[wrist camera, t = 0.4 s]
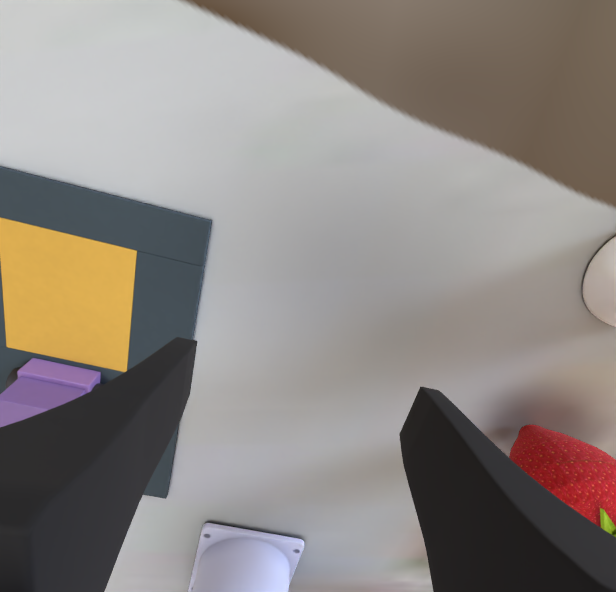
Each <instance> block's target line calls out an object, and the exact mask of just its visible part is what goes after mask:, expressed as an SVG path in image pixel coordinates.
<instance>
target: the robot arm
mask: <svg viewBox="0 0 616 592" xmlns="http://www.w3.org/2000/svg"><path fill="white" fill-rule="evenodd" d="M196 346H197V341H195V340H190V339H185V338H180V337H176V338H175V339H173V340H172V341H170V342H169V343H167V344H166V345H165V346H163V347H162V348H160V349H159V350H158V351H156V352H155V353H153V354H152V355H150V356H149V357H147V358H146V359H144V360H143V361H141V362H140V363H138V364H137V365H135V366H134V367H132V368H131V369H129V370H128V371H126V372H124V373H123V374H121V375H119V376H117V377H116V378H114V379H112V380H111V381H109V382H107V383H105V384H104V385H102V386H100V387H98V388H96V389H94V390H93V391H91V392H89V393H86V394H84V395H82V396H80V397H78V398H76V399H74V400H72V401H69V402H67V403H65V404H62V405H60V406H57V407H55V408H52V409H50V410H47V411H45V412H42V413H40V414H37V415H34V416H32V417H29V418H27V419H24V420H21V421H18V422H15V423H12V424H9V425H6V426H3V427H0V592H104V591H105V588H106V586H107V583H108V580H109V578H110V575H111V573H112V570H113V567H114V565H115V562H116V560H117V557H118V554H119V552H120V549H121V547H122V544H123V542H124V539H125V536H126V534H127V531H128V529H129V526H130V524H131V521H132V519H133V516H134V514H135V511H136V509H137V506H138V504H139V502H140V500H141V497H142V495H143V493H144V491H145V489H146V487H147V485H148V483H149V481H150V479H151V477H152V475H153V473H154V471H155V469H156V467H157V465H158V463H159V461H160V460H161V458H162V456H163V454H164V452H165V450H166V448H167V446H168V444H169V442H170V440H171V438H172V436H173V434H174V432H175V430H176V428H177V426H178V424H179V422H180V419H181V417H182V414H183V411H184V409H185V406H186V403H187V400H188V397H189V395H190V389H191V382H192V375H193V368H194V361H195V353H196ZM400 442H401V451H402V457H403V464H404V468H405V472H406V476H407V479H408V483H409V487H410V491H411V494H412V498H413V501H414V505H415V509H416V512H417V516H418V519H419V523H420V527H421V530H422V534H423V538H424V542H425V546H426V551H427V556H428V562H429V568H430V574H431V579H432V585H433V591H434V592H616V537H614V536H613V535H611V534H610V533H608V532H607V531H605V530H603V529H602V528H600V527H599V526H597V525H596V524H594V523H593V522H591V521H590V520H588V519H587V518H586V517H584V516H583V515H581V514H580V513H578V512H577V511H576V510H574V509H573V508H571V507H570V506H568V505H567V504H566V503H564V502H563V501H562V500H560V499H559V498H557V497H556V496H555V495H553V494H552V493H551V492H550V491H548V490H547V489H546V488H545V487H543V486H542V485H541V484H540V483H538V482H537V481H536V480H534V479H533V478H532V477H531V476H529V475H528V474H527V473H526V472H525V471H524V470H522V469H521V468H520V467H519V466H518V465H517V464H515V463H514V462H513V461H512V460H511V459H510V458H509V457H508V456H507V455H505V454H504V453H503V452H502V451H501V450H500V449H499V448H498V447H497V446H496V445H495V444H494V443H492V442H491V441H490V440H489V439H488V438H487V437H486V436H485V435H484V434H483V433H482V432H481V431H480V430H479V429H478V428H477V427H476V426H475V425H474V424H473V423H472V422H471V421H470V420H469V419H468V418H467V417H466V416H465V415H464V414H463V413H462V412H461V411H460V410H459V409H458V408H457V407H456V406H455V405H454V404H453V403H452V402H451V401H450V400H449V399H448V398H447V397H446V396H445V395H443V394H442V393H441V392H440V391H439V390H434V389H429V388H425V387H420V389H419V391H418V394H417V396H416V398H415V401H414V403H413V405H412V407H411V410H410V412H409V414H408V416H407V419H406V421H405V423H404V425H403V428H402V430H401V432H400ZM303 549H304V541H303V540H302V539H298V538H292V537H287V536H281V535H275V534H270V533H264V532H258V531H253V530H247V529H241V528H236V527H230V526H224V525H219V524H213V523H205V524H204V525H203V527H202V531H201V535H200V539H199V544H198V548H197V553H196V557H195V561H194V566H193V570H192V575H191V579H190V584H189V588H188V592H289V584H290V581H291V579H292V577H293V574H294V572H295V569H296V567H297V564H298V562H299V559H300V557H301V554H302V552H303Z"/></svg>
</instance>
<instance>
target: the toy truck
mask: <svg viewBox="0 0 616 592" xmlns="http://www.w3.org/2000/svg"><path fill="white" fill-rule="evenodd" d="M100 375H101V372H98V371H94V370H89V369H84V368H79V367H75V366H70V365H65V364H60V363H56V362H51V361H46V360H41V359H37V358H32V359H31V360H30V361H29V362H27V363H26V364H25V365H24V366H23V367H16V368H15V369H13V370H12V371H11V373H10V374H9V376H8V378H7V380H6V385H5V387H6V390H5V391H4V392H2V393H1V394H0V427H3V426H6V425H9V424H12V423H15V422H18V421H21V420H24V419H27V418H29V417H32V416H34V415H37V414H40V413H42V412H45V411H47V410H50V409H52V408H55V407H57V406H60V405H62V404H65V403H67V402H69V401H72V400H74V399H76V398H78V397H80V396H82V395H84V394H86V393H89V392H91V391H93V390H94V389H96V388H98V387H100V386H102V385H104V384H101V383H100Z"/></svg>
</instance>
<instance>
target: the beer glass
mask: <svg viewBox="0 0 616 592" xmlns="http://www.w3.org/2000/svg"><path fill="white" fill-rule="evenodd" d="M583 298H584V301H585V304H586V306H587V308H588V309H589V310H590V312H591V313H592V314H593V315H594V316H595V317H597V318H598V319H599V320H601V321H603V322H605V323H607V324H609V325H611V326H613V327H616V236H615V237H613V238H612V239H611V240H609V241H608V242H607V243H606V244H605V245H604V246H603V247H602V248H601V249H600V250H599V251H598V252H597V254H596V255H595V256H594V258H593V259H592V261H591V263H590V264H589V266H588V268H587V271H586V273H585V276H584V280H583Z"/></svg>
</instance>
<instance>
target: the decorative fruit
mask: <svg viewBox="0 0 616 592" xmlns="http://www.w3.org/2000/svg"><path fill="white" fill-rule="evenodd" d="M509 458H510V459H511V460H512V461H513V462H514V463H515V464H517V465H518V466H519V467H520V468H521V469H522V470H524V471H525V472H526V473H527V474H528V475H529V476H531V477H532V478H533V479H534V480H536V481H537V482H538V483H540V484H541V485H542V486H543V487H545V488H546V489H547V490H548V491H550V492H551V493H552V494H553V495H555V496H556V497H557V498H559V499H560V500H562V501H563V502H564V503H566V504H567V505H568V506H570V507H571V508H573V509H574V510H576V511H577V512H578V513H580V514H581V515H583V516H584V517H586V518H587V519H588V520H590V521H591V522H593V523H594V524H596V525H597V526H599V527H600V528H602V529H603V530H605V531H607V532H608V533H610V534H611V535H613V536H614V537H616V460H615V459H614V458H612V457H611V456H609V455H608V454H607V453H605V452H604V451H602V450H600V449H598V448H597V447H594V446H592V445H589V444H587V443H585V442H582V441H580V440H577V439H575V438H573V437H570V436H568V435H565V434H562V433H559V432H555V431H552V430H548V429H545V428H542V427H540V426H537V425H526V426H524V427H522V428H521V429H520V431H519V434H518V438H517V440H516V441H515V443H514V445H513V447H512V448H511V452H510V456H509Z"/></svg>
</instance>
